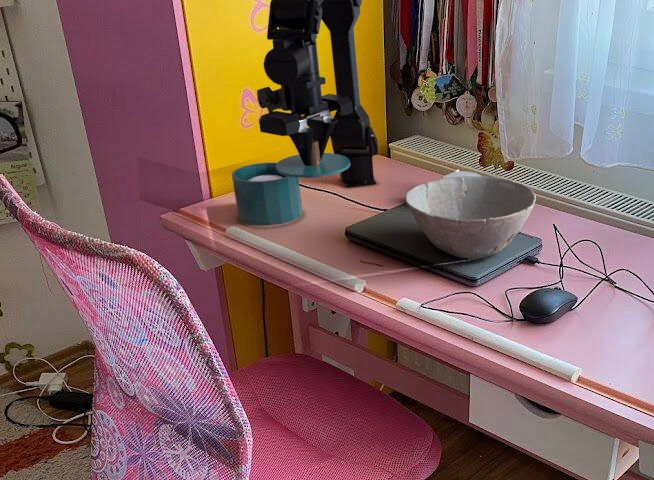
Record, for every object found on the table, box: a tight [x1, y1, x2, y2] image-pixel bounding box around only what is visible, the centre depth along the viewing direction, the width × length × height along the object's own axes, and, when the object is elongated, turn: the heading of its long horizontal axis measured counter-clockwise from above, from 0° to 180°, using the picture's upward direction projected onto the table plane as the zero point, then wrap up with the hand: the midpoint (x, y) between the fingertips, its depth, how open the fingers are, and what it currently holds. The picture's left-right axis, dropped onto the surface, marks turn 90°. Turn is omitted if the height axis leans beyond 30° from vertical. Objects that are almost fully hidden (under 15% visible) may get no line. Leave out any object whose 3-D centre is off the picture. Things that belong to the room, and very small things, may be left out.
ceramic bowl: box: [405, 175, 537, 261], centre depth 150 cm, size 22×23×10 cm
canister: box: [231, 162, 304, 227], centre depth 166 cm, size 12×12×9 cm
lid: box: [276, 139, 350, 179], centre depth 155 cm, size 13×13×5 cm
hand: (312, 162), depth 156 cm, fingers closed on lid, 3 cm apart
